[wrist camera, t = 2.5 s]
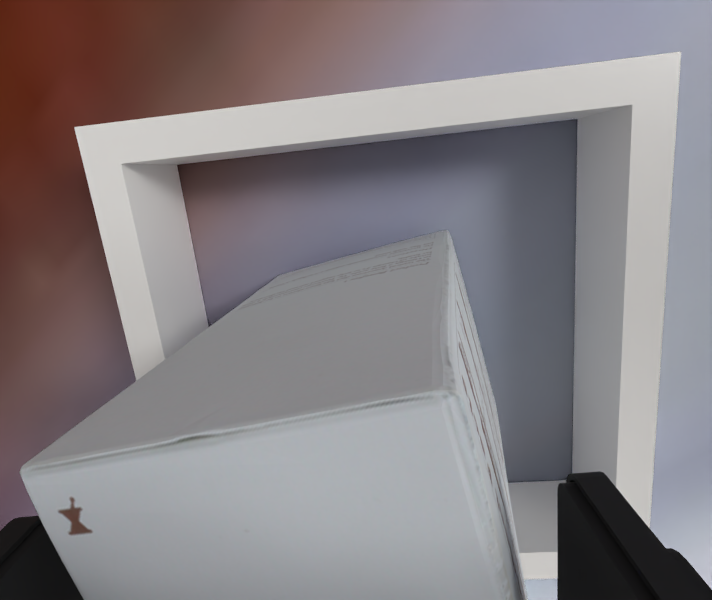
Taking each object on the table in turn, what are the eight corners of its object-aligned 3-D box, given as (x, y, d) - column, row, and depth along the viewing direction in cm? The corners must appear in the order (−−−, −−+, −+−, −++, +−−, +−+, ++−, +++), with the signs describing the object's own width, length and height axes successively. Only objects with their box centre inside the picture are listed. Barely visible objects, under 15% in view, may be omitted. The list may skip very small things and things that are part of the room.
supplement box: (329, 428, 21) (168, 786, 9) (275, 271, 19) (-8, 464, 8) (499, 402, 19) (569, 812, 7) (456, 223, 17) (456, 384, 6)
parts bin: (613, 78, 17) (681, 51, 13) (599, 501, 21) (646, 575, 17) (140, 135, 18) (74, 127, 14) (221, 517, 23) (187, 588, 19)
